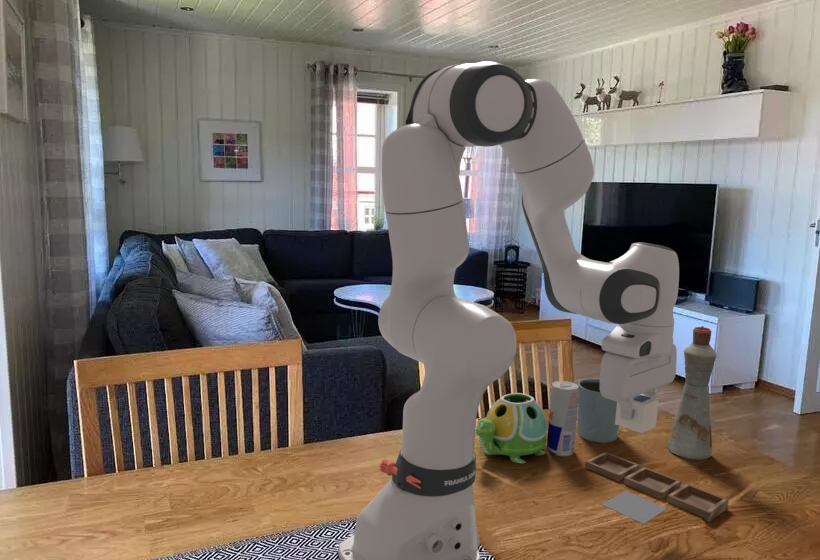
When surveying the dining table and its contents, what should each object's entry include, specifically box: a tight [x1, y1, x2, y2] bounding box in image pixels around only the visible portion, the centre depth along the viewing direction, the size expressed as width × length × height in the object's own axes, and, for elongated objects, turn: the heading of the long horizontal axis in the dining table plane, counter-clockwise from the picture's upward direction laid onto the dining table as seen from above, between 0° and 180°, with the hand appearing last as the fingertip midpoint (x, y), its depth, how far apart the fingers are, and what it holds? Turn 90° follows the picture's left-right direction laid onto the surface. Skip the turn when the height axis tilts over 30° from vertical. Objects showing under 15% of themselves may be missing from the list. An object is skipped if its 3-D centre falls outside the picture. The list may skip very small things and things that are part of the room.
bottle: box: [667, 325, 717, 461], centre depth 133 cm, size 9×9×28 cm
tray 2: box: [623, 466, 682, 500], centre depth 119 cm, size 7×7×2 cm
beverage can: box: [546, 380, 579, 457], centre depth 132 cm, size 6×6×15 cm
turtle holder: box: [475, 392, 548, 464], centre depth 130 cm, size 12×18×12 cm
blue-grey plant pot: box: [576, 378, 620, 444], centre depth 141 cm, size 10×10×12 cm
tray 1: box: [584, 451, 640, 482], centre depth 125 cm, size 7×7×2 cm
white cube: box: [615, 393, 660, 434], centre depth 110 cm, size 5×5×5 cm
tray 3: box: [666, 483, 729, 523], centre depth 113 cm, size 7×7×2 cm
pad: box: [601, 490, 668, 525], centre depth 111 cm, size 8×8×1 cm
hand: (636, 415), depth 111 cm, fingers closed on white cube, 5 cm apart
